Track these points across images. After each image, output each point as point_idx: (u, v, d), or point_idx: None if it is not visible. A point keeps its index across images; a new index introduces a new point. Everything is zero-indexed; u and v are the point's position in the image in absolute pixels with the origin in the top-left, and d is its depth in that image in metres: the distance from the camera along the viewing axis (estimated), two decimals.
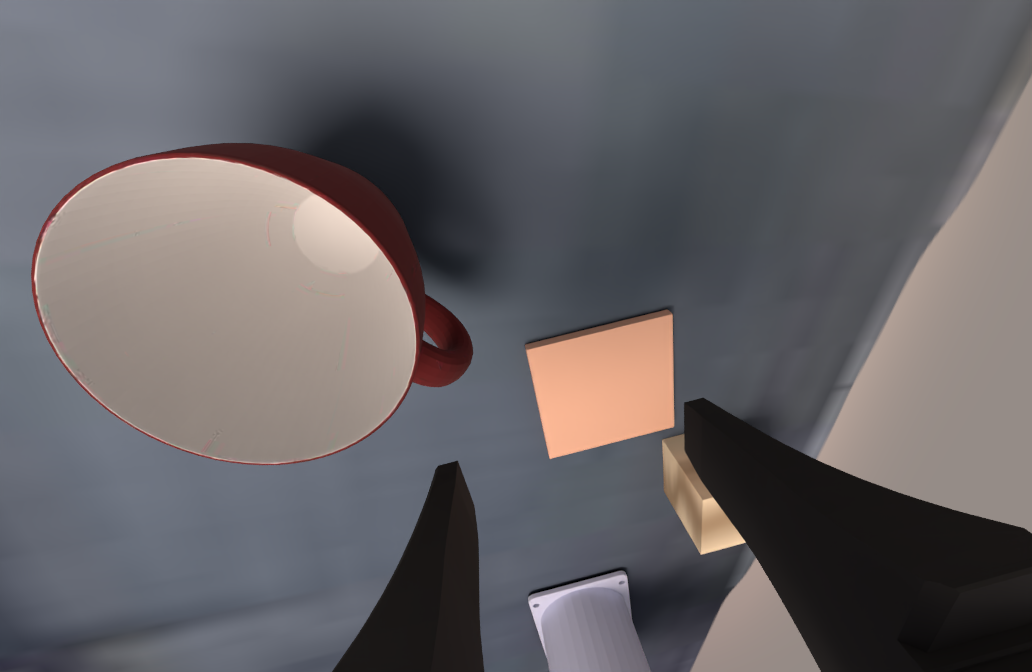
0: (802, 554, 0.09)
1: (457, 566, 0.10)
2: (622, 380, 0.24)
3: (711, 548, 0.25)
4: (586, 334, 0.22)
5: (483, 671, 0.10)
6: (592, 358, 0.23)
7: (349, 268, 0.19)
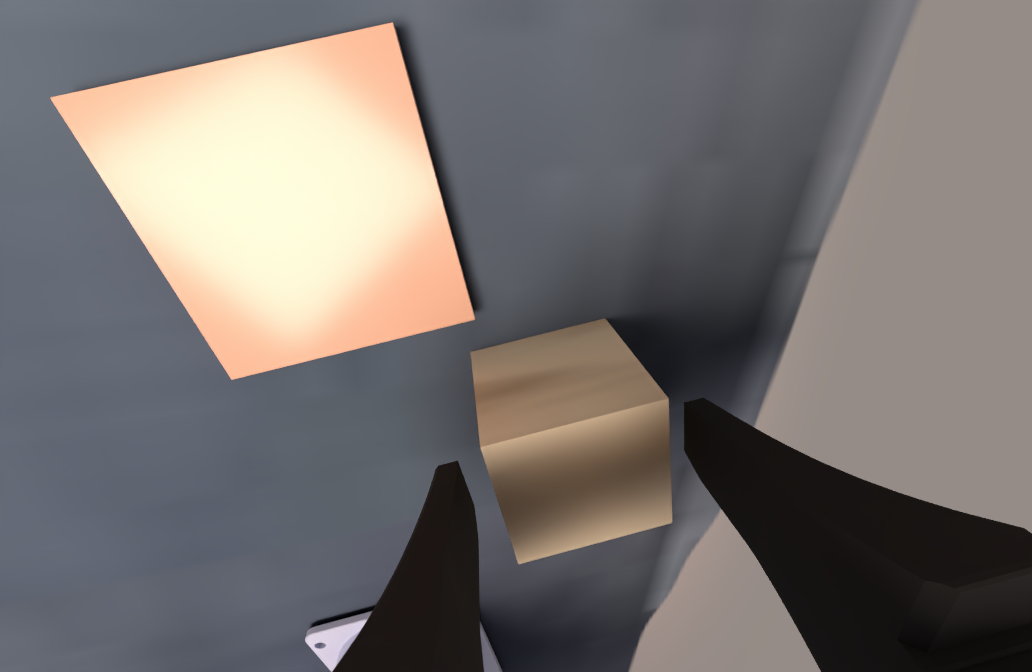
0: (802, 554, 0.09)
1: (457, 566, 0.10)
2: (329, 202, 0.11)
3: (536, 551, 0.13)
4: (195, 66, 0.10)
5: (483, 671, 0.10)
6: (233, 135, 0.10)
7: None
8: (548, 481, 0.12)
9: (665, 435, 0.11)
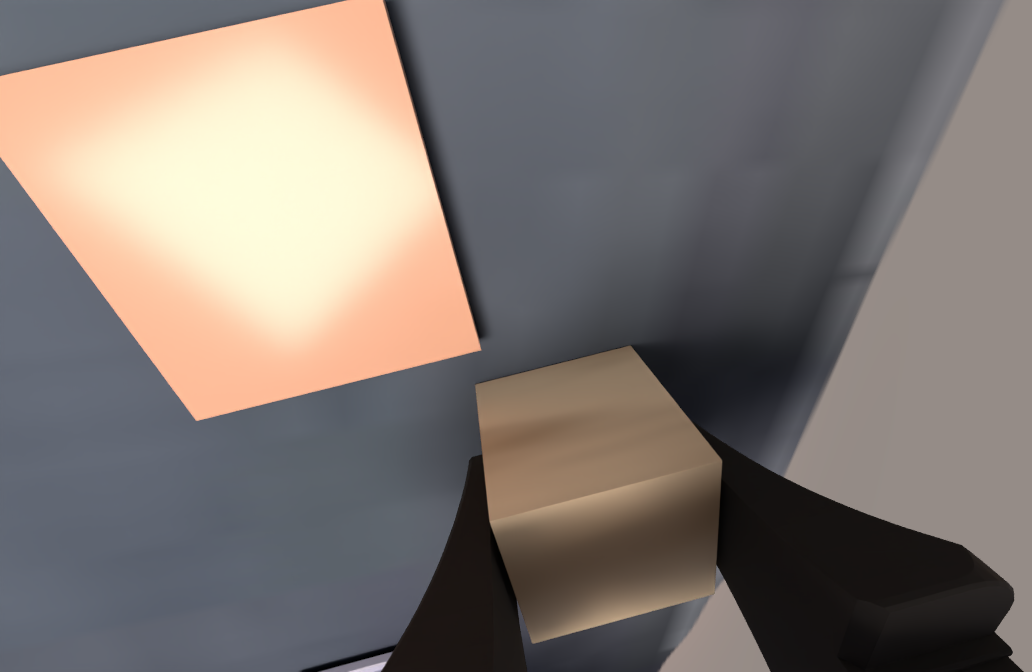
0: (755, 567, 0.09)
1: (499, 555, 0.10)
2: (305, 216, 0.09)
3: (554, 629, 0.11)
4: (133, 48, 0.08)
5: (524, 660, 0.10)
6: (185, 134, 0.08)
7: None
8: (571, 555, 0.10)
9: (714, 501, 0.09)
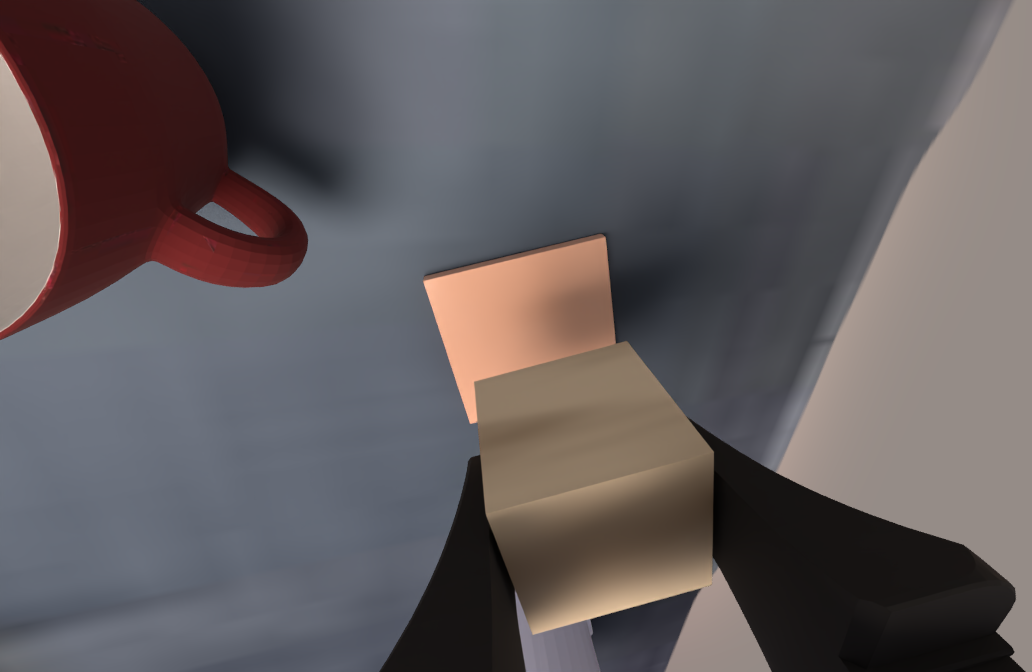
0: (757, 566, 0.09)
1: (498, 555, 0.10)
2: (551, 325, 0.20)
3: (553, 620, 0.11)
4: (498, 262, 0.18)
5: (524, 660, 0.10)
6: (509, 293, 0.19)
7: None
8: (567, 547, 0.10)
9: (707, 492, 0.10)
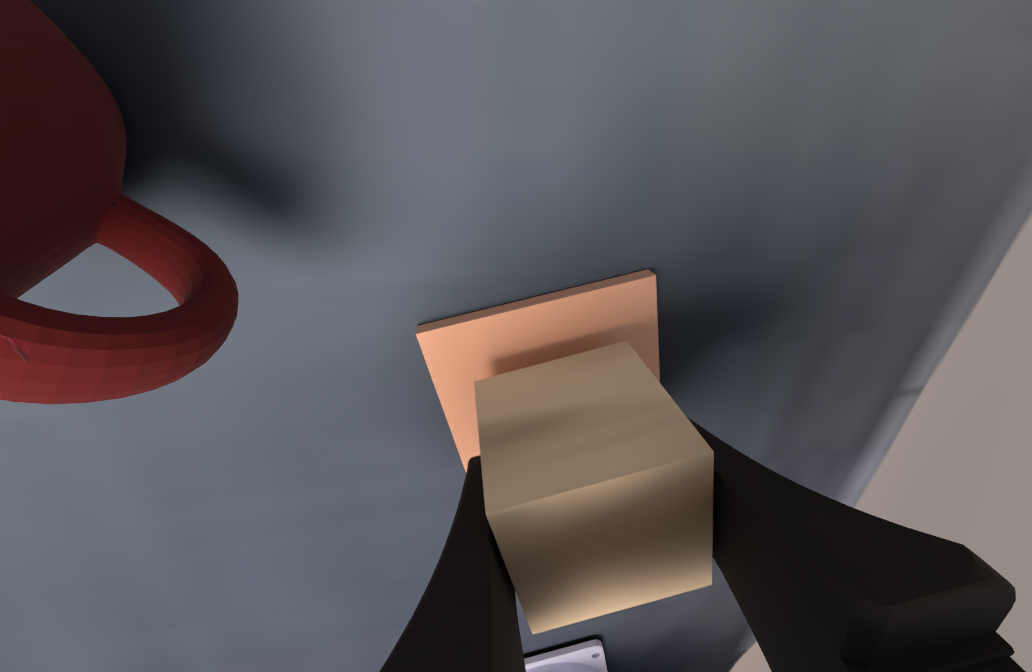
0: (757, 566, 0.09)
1: (498, 555, 0.10)
2: None
3: (553, 620, 0.11)
4: (515, 308, 0.14)
5: (523, 660, 0.10)
6: (528, 347, 0.14)
7: None
8: (567, 546, 0.10)
9: (707, 492, 0.09)
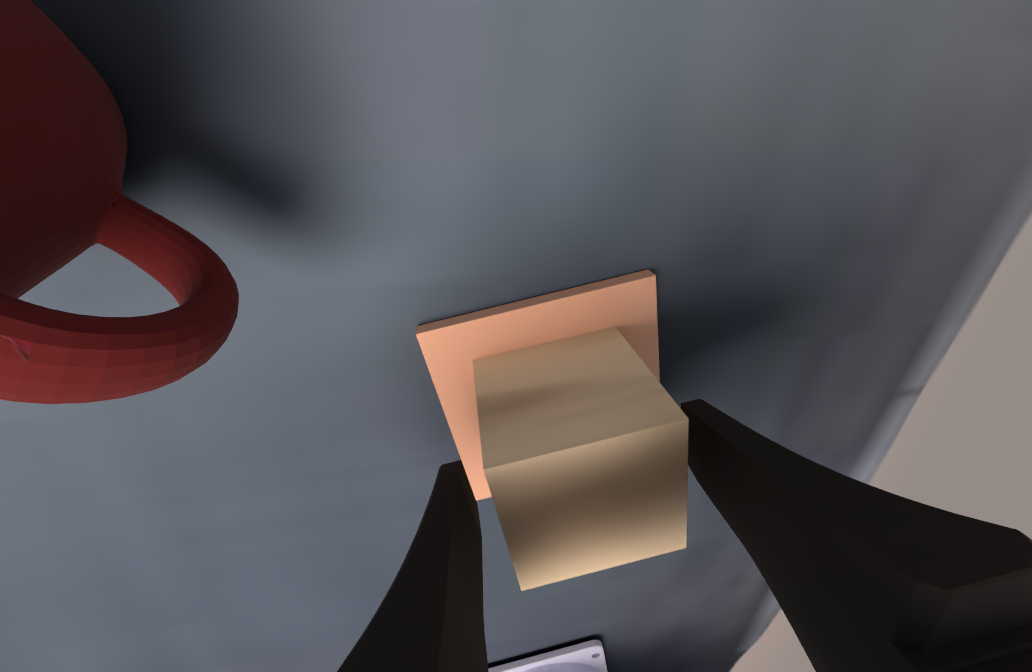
0: (797, 555, 0.09)
1: (461, 565, 0.10)
2: None
3: (541, 577, 0.12)
4: (515, 308, 0.14)
5: (487, 670, 0.10)
6: None
7: None
8: (556, 505, 0.11)
9: (682, 457, 0.11)
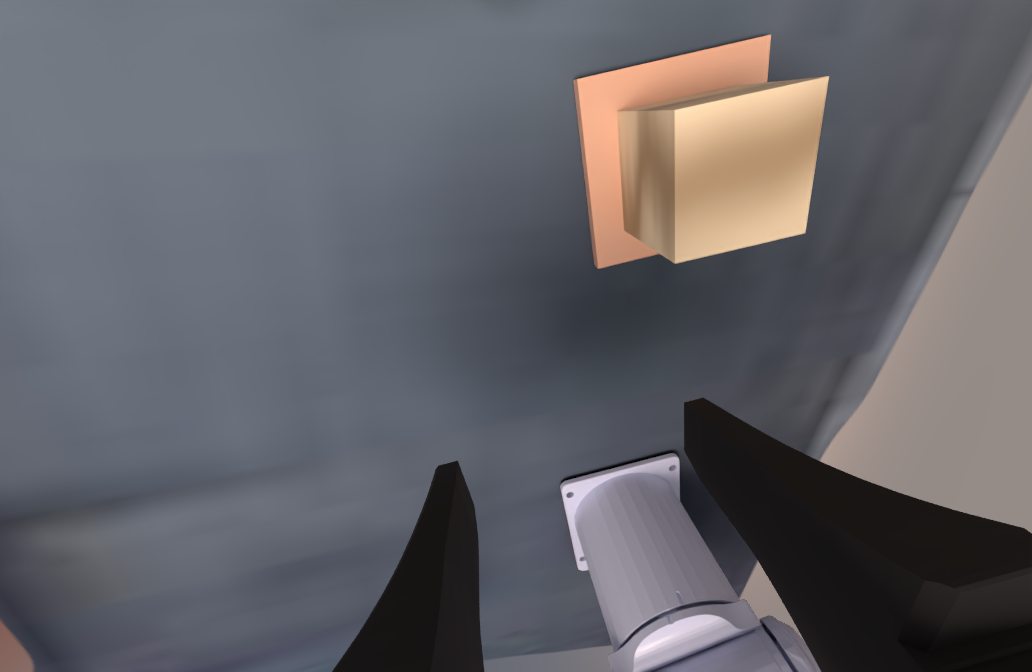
0: (802, 554, 0.09)
1: (457, 566, 0.10)
2: None
3: (692, 249, 0.15)
4: None
5: (483, 671, 0.10)
6: None
7: None
8: (718, 161, 0.14)
9: (818, 121, 0.14)
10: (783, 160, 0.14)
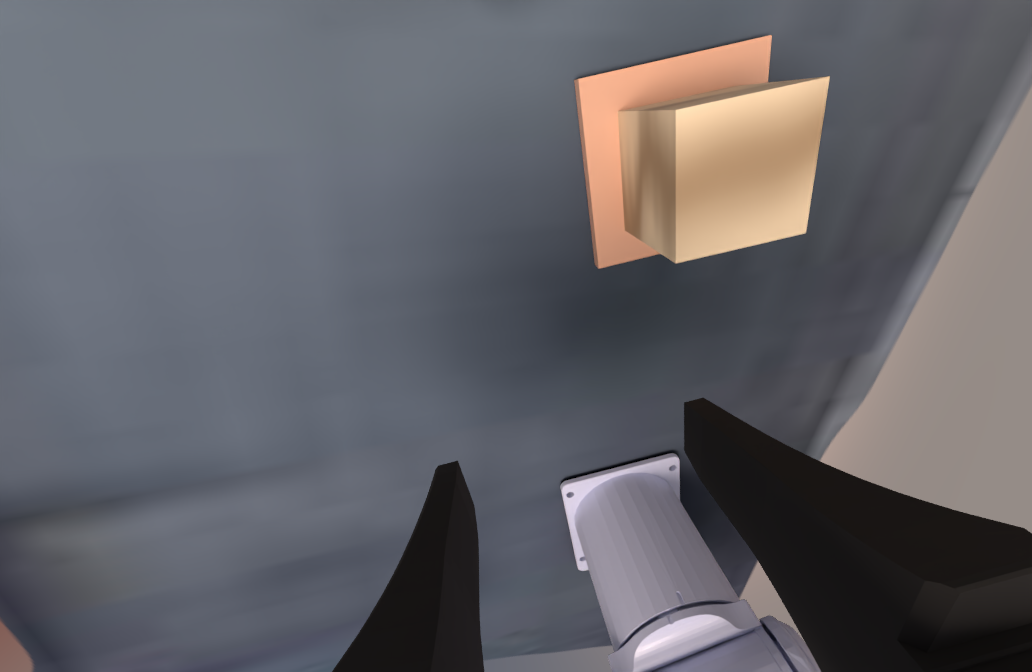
0: (802, 554, 0.09)
1: (457, 566, 0.10)
2: None
3: (693, 249, 0.15)
4: None
5: (483, 671, 0.10)
6: None
7: None
8: (719, 161, 0.14)
9: (819, 121, 0.14)
10: (784, 160, 0.14)
